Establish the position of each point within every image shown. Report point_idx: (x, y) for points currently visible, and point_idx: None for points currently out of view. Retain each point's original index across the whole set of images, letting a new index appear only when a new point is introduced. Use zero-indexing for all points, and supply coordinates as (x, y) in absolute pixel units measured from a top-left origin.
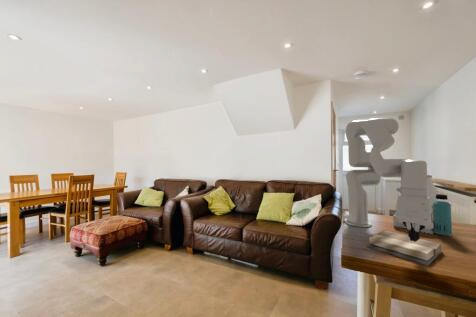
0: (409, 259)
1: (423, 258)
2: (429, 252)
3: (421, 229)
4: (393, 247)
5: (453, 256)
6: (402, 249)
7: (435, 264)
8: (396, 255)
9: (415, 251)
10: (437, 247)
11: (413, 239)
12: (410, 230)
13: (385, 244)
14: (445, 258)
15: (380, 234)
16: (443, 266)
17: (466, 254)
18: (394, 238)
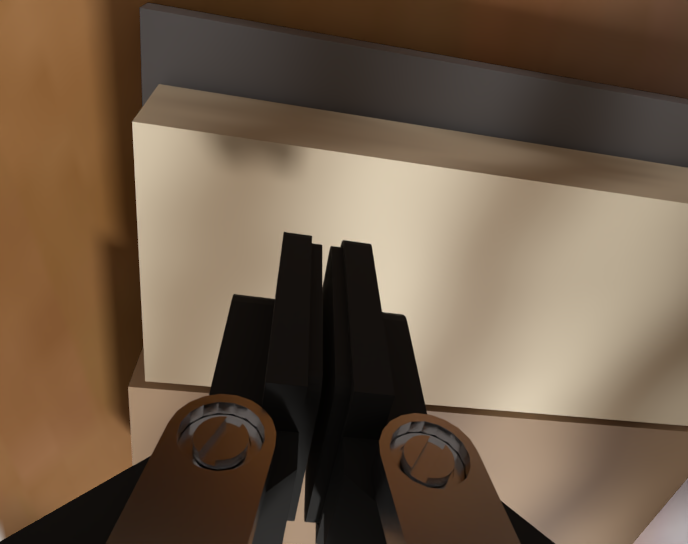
0: (353, 42)
1: (200, 95)
2: (140, 223)
3: (97, 498)
4: (558, 164)
5: (65, 431)
6: (450, 152)
7: (103, 123)
8: (500, 66)
9: (288, 135)
10: (132, 438)
11: (314, 259)
12: (382, 394)
13: (661, 185)
14: (92, 352)
15: (679, 443)
16: (29, 124)
17: (20, 516)
18: (538, 420)
